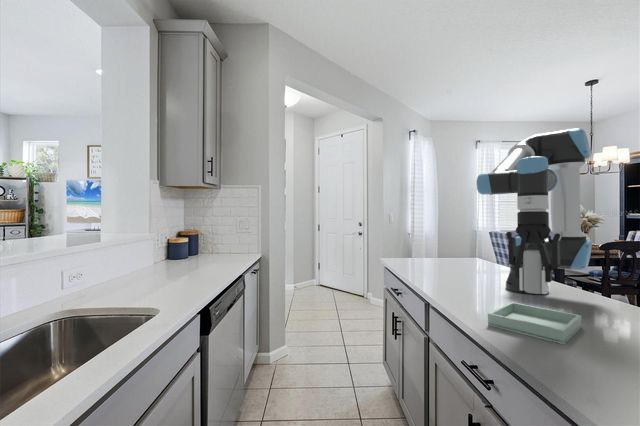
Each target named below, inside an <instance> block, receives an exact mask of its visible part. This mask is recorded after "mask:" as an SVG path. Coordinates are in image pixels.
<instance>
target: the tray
mask: <svg viewBox="0 0 640 426" xmlns="http://www.w3.org/2000/svg"><path fill="white" fill-rule="evenodd" d="M487 325H488V326H490V327H494V328H497V329H501V330H506V331H510V332H514V333H518V334H521V335H526V336H528V337H529V336H530V337H532V338H536V339H541V340H545V341H549V342H552V341H553V342H552V343H556V342H557V344H560V345H565V344H566V343H567V342H569V341H570V339H571V338H572V337H573V336H574V335H575V334H576V333H578V331H579V330H580V329H581V328H582V315H580V314H575V313H571V312H565V311H560V310H554V309H550V308H544V307H539V306H536V305H535V306H534V305H533V306H532V305H528V304H523V303H517V302H513V301H510V302H508V303H506V304H504V305H502V306H500V307H499V308H498V307H497V308H496V309H494V310H492V311H490V312H489V313H487Z"/></svg>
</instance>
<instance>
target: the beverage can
mask: <svg viewBox="0 0 640 426" xmlns="http://www.w3.org/2000/svg"><path fill="white" fill-rule="evenodd" d="M542 270H544V267H543V261H542V258H541V255H540V251H539V250H526V251H525V250H524V253H523V280H524V290H525V292H528V293H534V294H533V295H542V294H541V293H542Z"/></svg>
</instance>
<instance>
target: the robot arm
mask: <svg viewBox="0 0 640 426" xmlns="http://www.w3.org/2000/svg"><path fill="white" fill-rule="evenodd" d="M589 158H591V148H590V143H589V139H588V135H587V132H586V131H585V129H583V128H567V129H562V130H557V131H551V132H545V133H537V134H533V135H531V136H529V137H526V138H524V139H522V140H520V141H518V142H517V143H516V144H514V145H513V146H512V147H511V148H509V150H508V151H507V156H506V157H505V158H504V159H503V160H501V162H500V163H499V164H498V165H497V166H496V167H495V168H494V169H493V170H492V171H491V172H484V173H480V174H478V176H477V178H476V189H477V192H478V193H479V194H480V195H490V196H492V195H506V194H507V195H508V194H517V196H516V197H517V198H516V200H517V201H516V203H517V204H516V206H517V208H516V209H517V210H518V212H517V214H516V215H517V216H516V217H517V221H516V222H517V227H516V228H515V230H512V231H506V232H505V234H506V238H507V239H508V241H507V243H508V247H507V248H508V249H507V250H508V253H507V256H508V258H507V259H508V264H509V270H510V271H509V273H508V276H507V278H506V282H505V289H506V290H508V291H510V292H514V293H519V294H526V295H528V294H529V295H535V294H534V293H528V292H525V290H524V280H523V253H524V250H525V251H526V250H539V251H540V255H541V258H542V261H543V270H542V293H541V294H540V295H546V294H547V295H548V293H549V283H551V282H552V280H553V270H557V269H561V270H562V269H563V270H569V271H585V270H586V269H587V268H588V266H589V262H590V260H591V254H592V245H593V244H592V243H593V242H592V240H590V239H587V235H586V234H585V232H583V231H582V224H581V222H582V220H581V218H582V217H581V215H582V214H581V213H582V212H581V167H583V166H584V165H585V164H586V159H589ZM551 191H552V192H551ZM549 192H551V196H552V230H551V227H550V219H549V218H550V217H549V215H550V214H549V212H548V211H547V210H549V209H550V207H549V204H550V203H549V202H550V201H549ZM517 235H518V236H517Z"/></svg>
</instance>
